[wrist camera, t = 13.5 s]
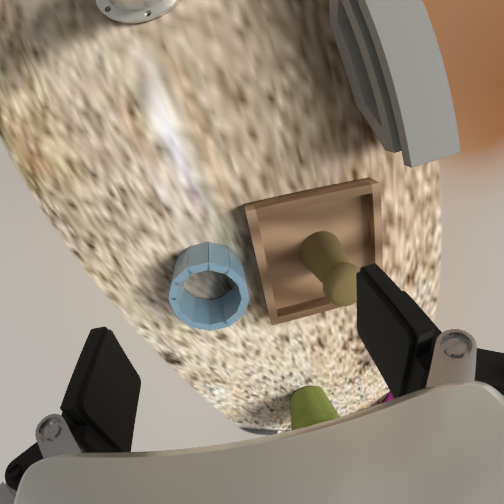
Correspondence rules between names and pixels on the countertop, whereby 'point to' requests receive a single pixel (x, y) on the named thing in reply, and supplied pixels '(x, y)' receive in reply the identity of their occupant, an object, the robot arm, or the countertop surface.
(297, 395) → the plant pot
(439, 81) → the grey lidded box
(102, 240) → the countertop surface
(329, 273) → the olive brown bulbous cylinder
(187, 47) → the countertop surface
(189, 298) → the blue hollow cylinder
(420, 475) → the robot arm
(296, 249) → the tray
